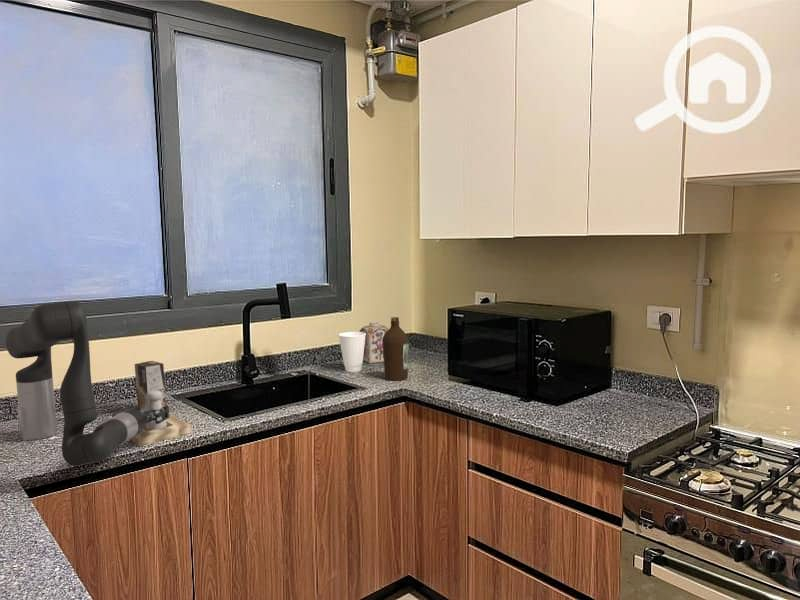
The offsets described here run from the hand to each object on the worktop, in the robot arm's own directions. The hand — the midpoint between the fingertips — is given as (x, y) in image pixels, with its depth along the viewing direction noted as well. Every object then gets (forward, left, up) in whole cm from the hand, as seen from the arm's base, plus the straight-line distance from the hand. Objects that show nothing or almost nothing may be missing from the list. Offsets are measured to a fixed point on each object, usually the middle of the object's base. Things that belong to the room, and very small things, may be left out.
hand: (153, 408), depth 171 cm
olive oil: (+96, -1, -8) cm, 96 cm away
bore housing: (+1, +1, -8) cm, 8 cm away
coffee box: (+9, +28, -8) cm, 31 cm away
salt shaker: (+1, +1, -8) cm, 8 cm away
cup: (+93, +24, -8) cm, 96 cm away
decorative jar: (+113, +33, -8) cm, 118 cm away
